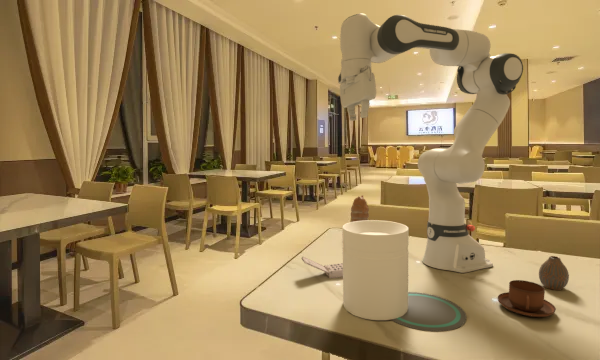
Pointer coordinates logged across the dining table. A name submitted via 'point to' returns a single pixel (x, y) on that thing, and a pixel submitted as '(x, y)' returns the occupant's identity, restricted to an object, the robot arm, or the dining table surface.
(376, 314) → the canister
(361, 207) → the brown ribbed oblong piece
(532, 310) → the cup and saucer
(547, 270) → the vase
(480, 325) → the dining table surface
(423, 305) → the charging mat
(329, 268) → the mobile phone
